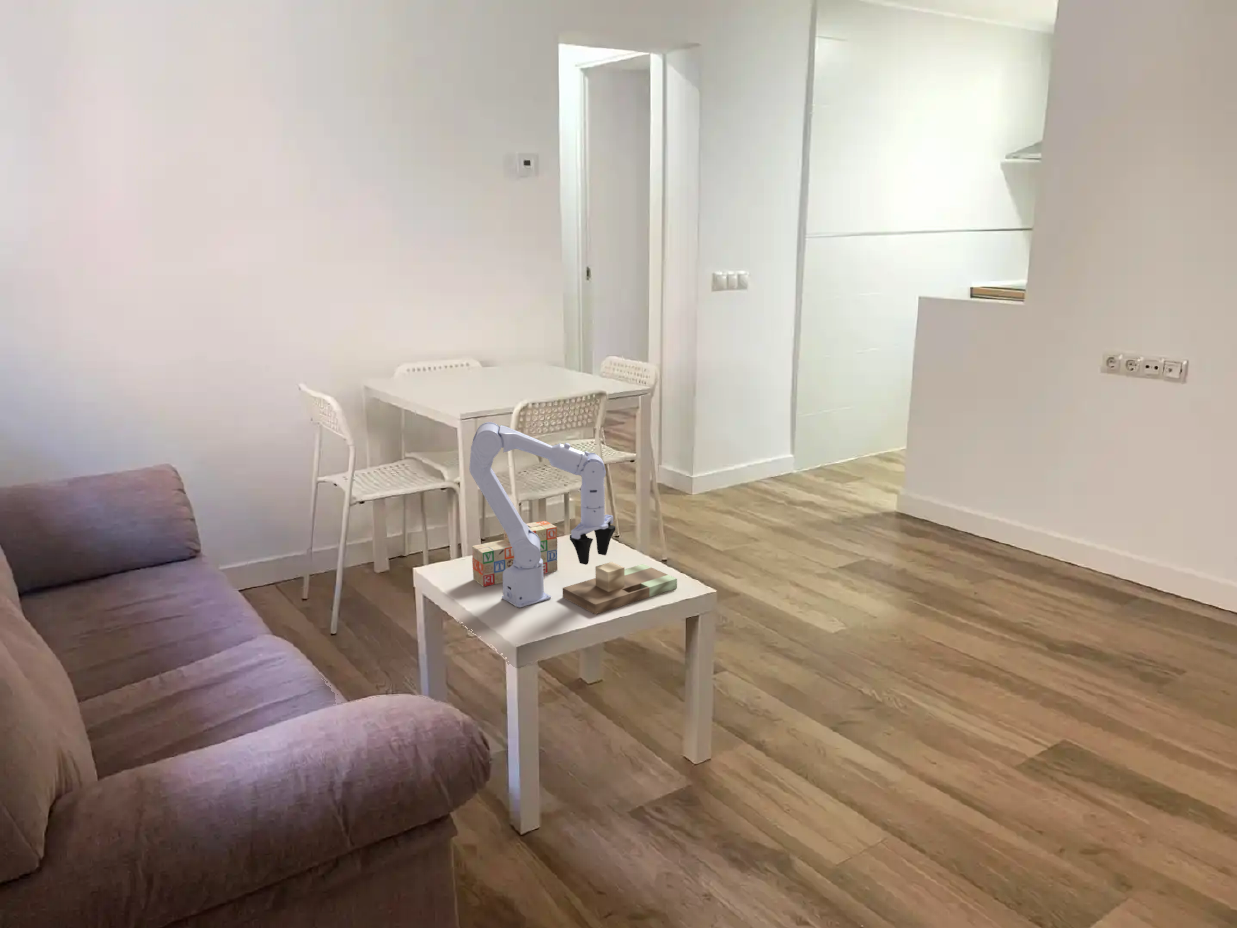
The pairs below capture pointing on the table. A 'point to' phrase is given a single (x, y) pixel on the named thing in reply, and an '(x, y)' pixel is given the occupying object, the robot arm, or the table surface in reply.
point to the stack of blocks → (512, 554)
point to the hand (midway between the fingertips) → (593, 558)
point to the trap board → (620, 589)
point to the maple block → (610, 576)
